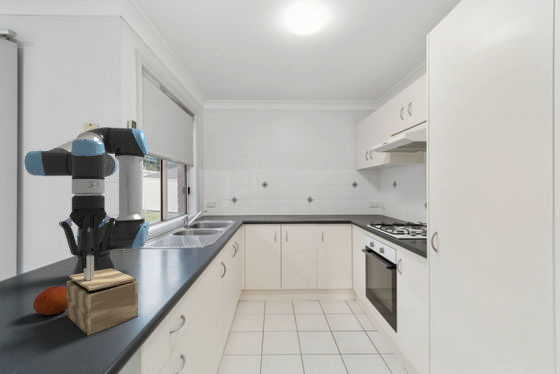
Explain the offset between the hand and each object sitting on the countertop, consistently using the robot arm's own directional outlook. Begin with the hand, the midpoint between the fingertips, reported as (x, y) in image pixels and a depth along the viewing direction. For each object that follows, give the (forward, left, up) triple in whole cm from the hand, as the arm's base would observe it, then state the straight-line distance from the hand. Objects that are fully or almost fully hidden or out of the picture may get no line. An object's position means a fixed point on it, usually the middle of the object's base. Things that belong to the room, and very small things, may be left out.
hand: (88, 278), depth 73 cm
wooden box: (0, +3, -12) cm, 12 cm away
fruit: (-15, -4, -12) cm, 19 cm away
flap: (0, +3, -1) cm, 3 cm away
